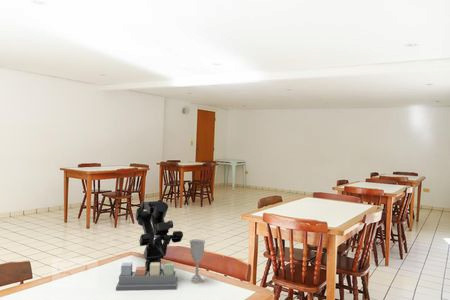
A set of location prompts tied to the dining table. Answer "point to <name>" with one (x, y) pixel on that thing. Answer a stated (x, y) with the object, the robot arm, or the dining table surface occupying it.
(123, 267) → the key blue
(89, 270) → the dining table surface
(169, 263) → the key sage
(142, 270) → the peach rectangular block
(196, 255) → the chalice
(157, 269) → the block
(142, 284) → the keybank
